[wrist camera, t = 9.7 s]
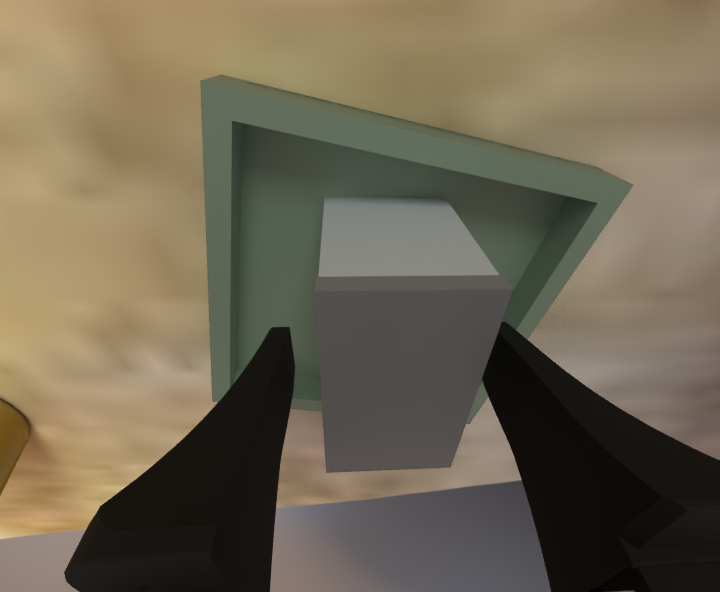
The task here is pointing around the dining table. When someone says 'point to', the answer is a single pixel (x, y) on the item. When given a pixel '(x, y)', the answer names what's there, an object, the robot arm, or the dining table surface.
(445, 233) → the grey upright block
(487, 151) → the tray
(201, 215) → the dining table surface
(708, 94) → the dining table surface
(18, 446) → the plant pot
